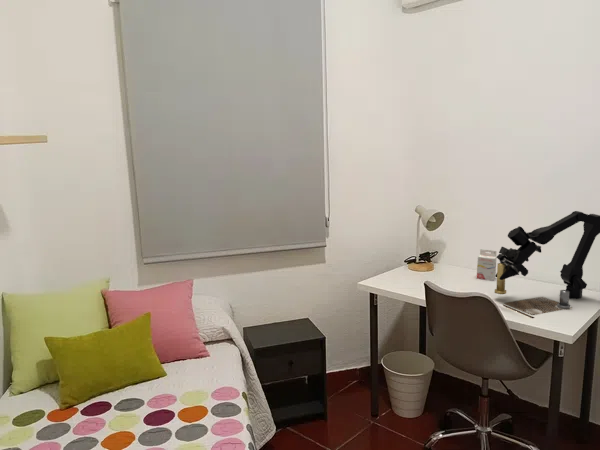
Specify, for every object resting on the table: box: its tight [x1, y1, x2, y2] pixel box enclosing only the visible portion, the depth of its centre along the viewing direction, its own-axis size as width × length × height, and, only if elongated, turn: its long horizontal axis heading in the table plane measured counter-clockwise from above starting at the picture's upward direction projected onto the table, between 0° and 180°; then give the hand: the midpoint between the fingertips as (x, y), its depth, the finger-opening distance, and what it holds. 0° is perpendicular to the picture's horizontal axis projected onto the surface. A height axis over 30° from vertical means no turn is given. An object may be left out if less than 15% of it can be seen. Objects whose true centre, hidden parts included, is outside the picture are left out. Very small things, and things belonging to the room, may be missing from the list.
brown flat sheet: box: [502, 296, 573, 319], centre depth 208 cm, size 22×17×1 cm
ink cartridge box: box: [476, 249, 498, 281], centre depth 251 cm, size 9×5×15 cm, turn 58°
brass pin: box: [494, 262, 507, 295], centre depth 214 cm, size 5×5×13 cm
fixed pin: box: [556, 289, 571, 310], centre depth 204 cm, size 5×5×7 cm
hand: (498, 278), depth 214 cm, fingers closed on brass pin, 3 cm apart
